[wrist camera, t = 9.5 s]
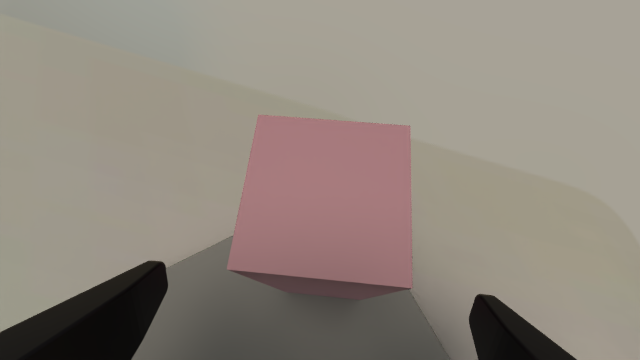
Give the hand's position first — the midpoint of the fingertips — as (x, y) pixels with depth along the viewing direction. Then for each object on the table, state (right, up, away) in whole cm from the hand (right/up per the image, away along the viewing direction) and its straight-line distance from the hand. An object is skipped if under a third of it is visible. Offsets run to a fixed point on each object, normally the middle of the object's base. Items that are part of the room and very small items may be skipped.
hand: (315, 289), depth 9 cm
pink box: (+1, -2, +10) cm, 11 cm away
